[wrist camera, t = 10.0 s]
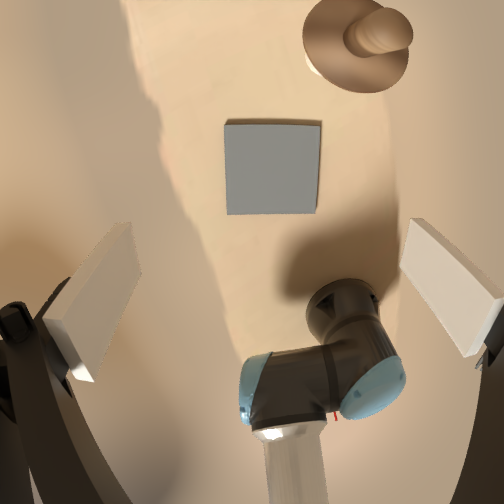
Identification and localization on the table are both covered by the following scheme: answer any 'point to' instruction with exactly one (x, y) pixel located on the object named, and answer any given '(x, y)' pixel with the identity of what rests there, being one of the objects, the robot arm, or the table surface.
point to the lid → (357, 44)
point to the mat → (271, 168)
